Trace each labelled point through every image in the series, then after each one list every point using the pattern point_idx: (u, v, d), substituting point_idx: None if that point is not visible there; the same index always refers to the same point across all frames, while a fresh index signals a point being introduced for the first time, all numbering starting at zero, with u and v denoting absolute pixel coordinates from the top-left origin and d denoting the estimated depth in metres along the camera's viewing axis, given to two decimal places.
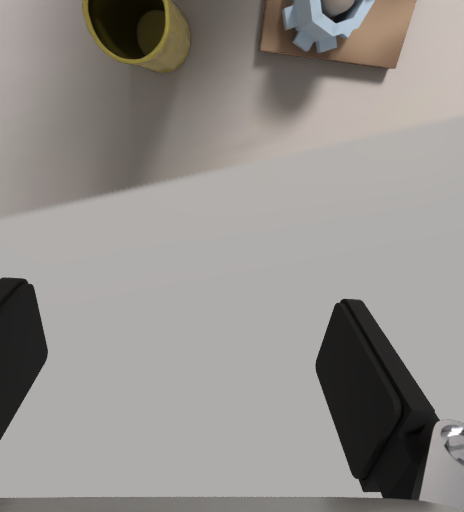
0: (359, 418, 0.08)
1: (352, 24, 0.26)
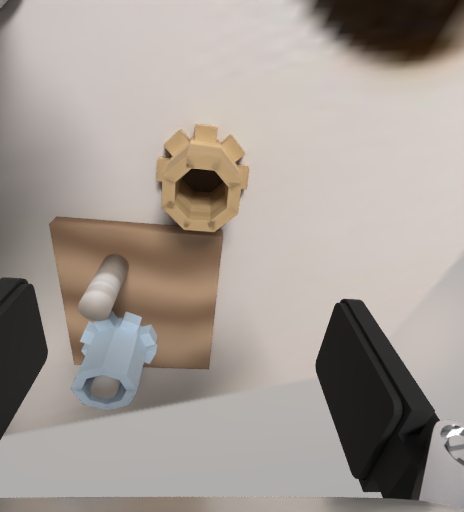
0: (359, 418, 0.08)
1: (122, 403, 0.28)
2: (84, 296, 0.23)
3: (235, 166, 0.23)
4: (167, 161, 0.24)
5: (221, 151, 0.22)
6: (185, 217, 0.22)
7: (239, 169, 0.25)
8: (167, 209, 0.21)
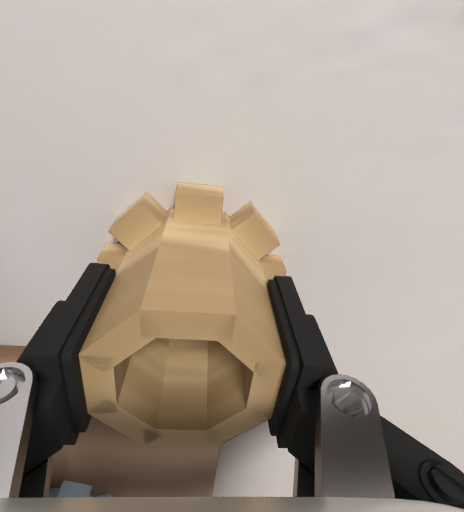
0: None
1: None
2: None
3: (262, 279, 0.11)
4: (119, 259, 0.12)
5: (233, 263, 0.09)
6: (146, 426, 0.09)
7: (266, 272, 0.12)
8: (100, 415, 0.09)
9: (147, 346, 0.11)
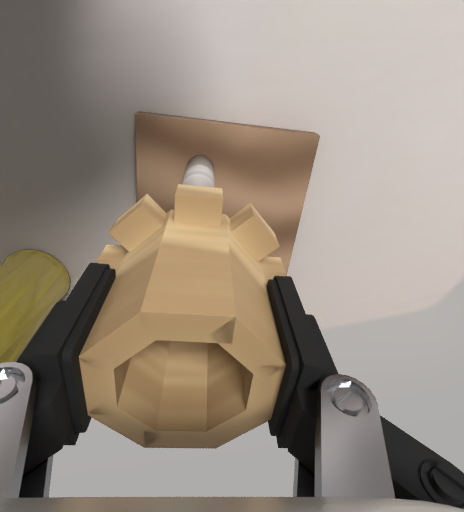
0: None
1: None
2: (188, 178, 0.20)
3: (261, 281, 0.11)
4: (119, 260, 0.12)
5: (233, 265, 0.09)
6: (146, 428, 0.09)
7: (266, 273, 0.12)
8: (100, 417, 0.09)
9: (147, 348, 0.11)
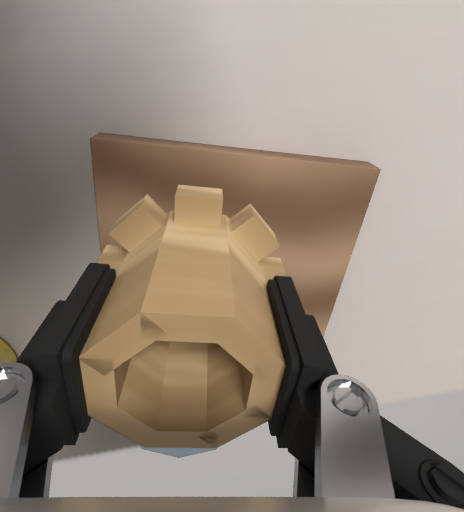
0: None
1: None
2: None
3: (261, 281, 0.11)
4: (119, 261, 0.12)
5: (233, 265, 0.09)
6: (146, 428, 0.09)
7: (266, 274, 0.12)
8: (100, 417, 0.09)
9: (147, 348, 0.11)
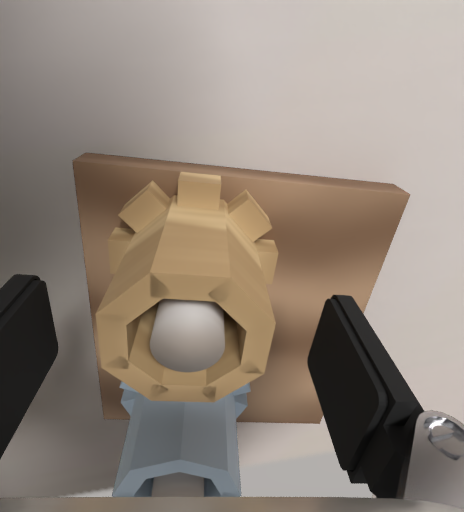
0: (347, 411, 0.08)
1: None
2: (166, 316, 0.09)
3: (255, 257, 0.12)
4: (127, 241, 0.13)
5: (230, 240, 0.11)
6: (153, 381, 0.10)
7: (260, 253, 0.14)
8: (113, 370, 0.10)
9: (153, 317, 0.12)
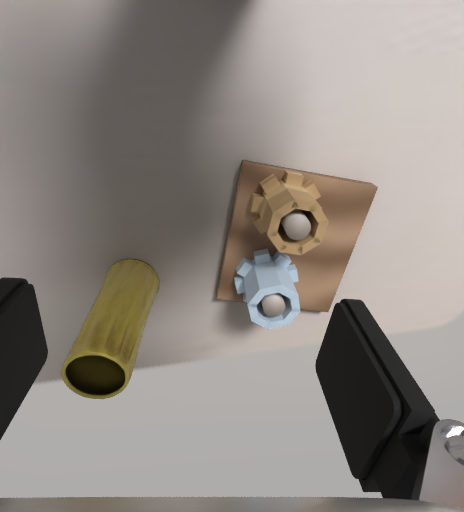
0: (359, 418, 0.08)
1: (283, 323, 0.33)
2: (293, 216, 0.28)
3: None
4: (261, 197, 0.32)
5: (310, 195, 0.29)
6: (282, 243, 0.29)
7: None
8: (270, 236, 0.28)
9: None
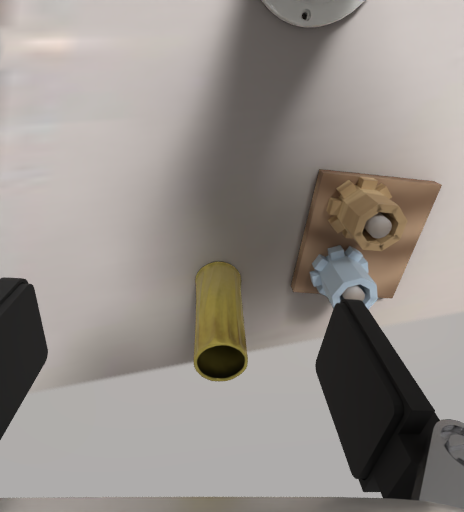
0: (359, 418, 0.08)
1: None
2: (376, 219, 0.32)
3: None
4: (339, 201, 0.36)
5: (388, 198, 0.33)
6: (366, 241, 0.33)
7: None
8: (356, 236, 0.33)
9: None
